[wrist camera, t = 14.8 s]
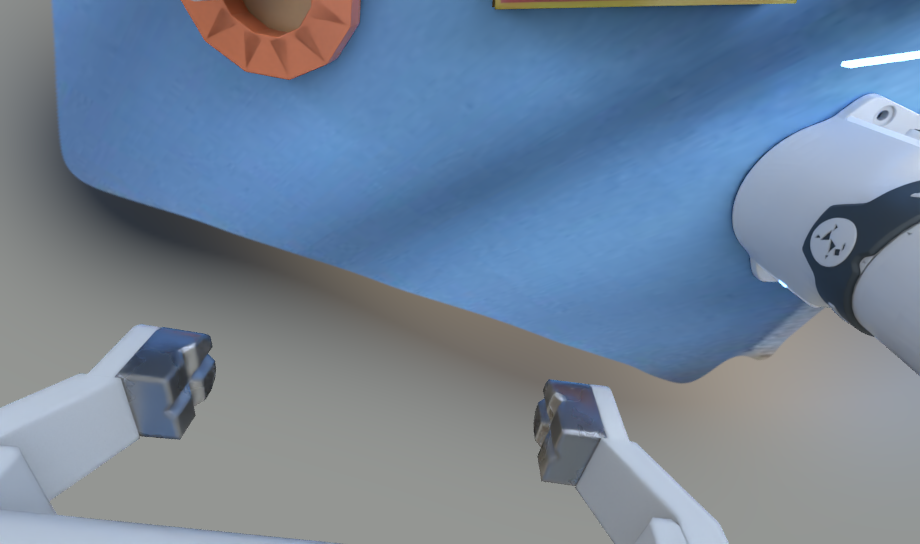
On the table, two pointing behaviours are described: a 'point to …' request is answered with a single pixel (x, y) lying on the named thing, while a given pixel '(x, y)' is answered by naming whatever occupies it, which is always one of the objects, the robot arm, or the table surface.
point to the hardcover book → (620, 3)
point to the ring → (276, 35)
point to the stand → (278, 12)
